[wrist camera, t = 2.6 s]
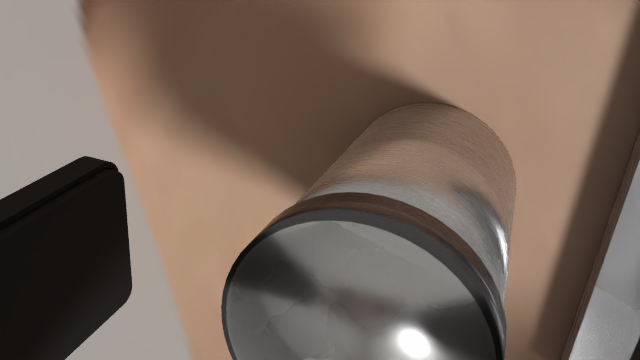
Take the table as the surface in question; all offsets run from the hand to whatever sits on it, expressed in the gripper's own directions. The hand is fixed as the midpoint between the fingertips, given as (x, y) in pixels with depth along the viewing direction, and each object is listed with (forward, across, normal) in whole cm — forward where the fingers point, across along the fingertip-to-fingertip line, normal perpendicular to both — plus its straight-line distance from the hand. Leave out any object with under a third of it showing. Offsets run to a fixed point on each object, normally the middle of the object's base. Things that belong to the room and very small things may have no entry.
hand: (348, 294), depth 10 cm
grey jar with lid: (+8, 0, +1) cm, 8 cm away
